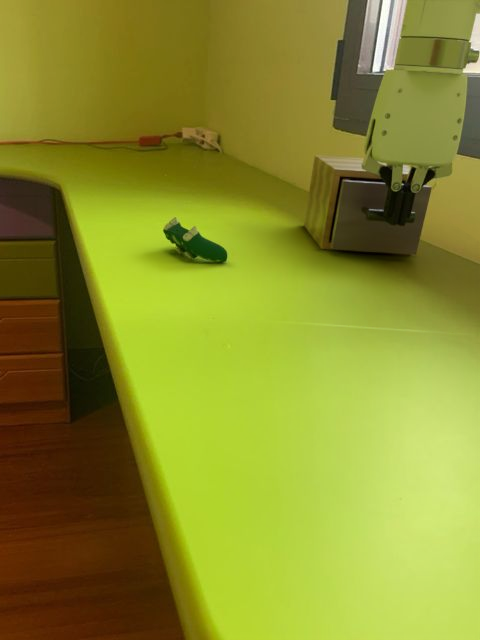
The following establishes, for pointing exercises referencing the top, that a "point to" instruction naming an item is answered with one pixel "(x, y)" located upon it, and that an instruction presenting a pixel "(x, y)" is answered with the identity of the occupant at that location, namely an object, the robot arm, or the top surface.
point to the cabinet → (332, 193)
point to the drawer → (374, 218)
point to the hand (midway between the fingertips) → (394, 223)
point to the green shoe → (193, 242)
